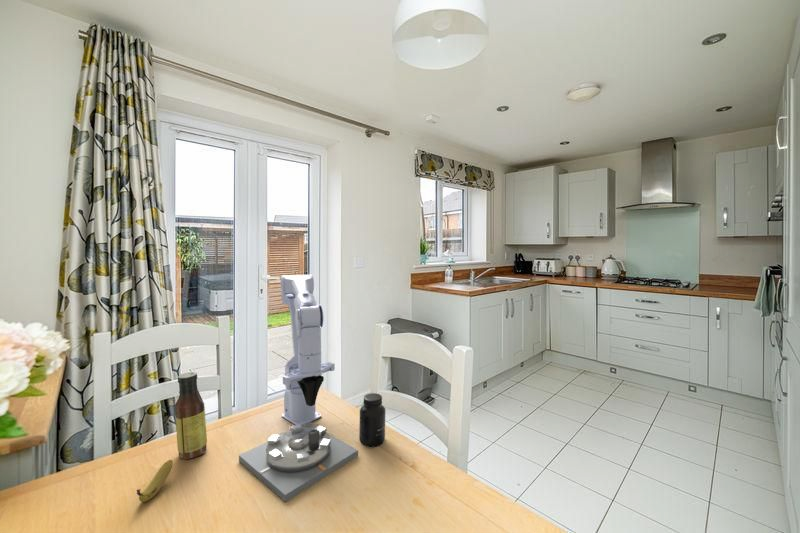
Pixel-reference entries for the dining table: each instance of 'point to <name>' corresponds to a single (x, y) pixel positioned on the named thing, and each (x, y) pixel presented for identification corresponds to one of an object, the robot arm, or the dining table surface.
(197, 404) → the sauce bottle
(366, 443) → the supplement bottle
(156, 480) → the banana
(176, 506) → the dining table surface
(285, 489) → the boss plate
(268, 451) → the grey turntable disc
